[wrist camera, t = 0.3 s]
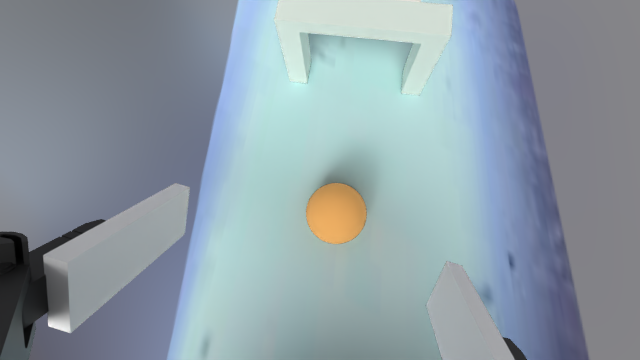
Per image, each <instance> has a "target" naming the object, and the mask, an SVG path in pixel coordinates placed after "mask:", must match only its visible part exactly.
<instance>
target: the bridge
mask: <svg viewBox="0 0 640 360" xmlns="http://www.w3.org/2000/svg"><path fill="white" fill-rule="evenodd" d="M452 12H453V5H448V4H436V3H424V2H412V1H400V0H278V5H277V9H276V14H275V18H274V21H275V25H276V29H277V33H278V37H279V40H280V44H281V48H282V52H283V56H284V60H285V64H286V68H287V72H288V76H289V80H290V82H299V83H307V82H308V77H309V71H310V65H311V53H310V44H309V36H308V33H313V34H323V35H334V36H345V37H355V38H366V39H377V40H387V41H398V42H409V43H413V45H412V48H411V50H410V53H409V56H408V58H407V61H406V64H405V66H404V69H403V78H402V89H401V94H411V95H420V93H421V92H422V90H423V88H424V86H425V84H426V82H427V80H428V78H429V77H430V75H431V73H432V71H433V69H434V67H435V65H436V63H437V62H438V60H439V58H440V56H441V54H442V52H443V50H444V48H445V47H446V45H447V43H448V41H449V39H450V37H451V31H452Z"/></svg>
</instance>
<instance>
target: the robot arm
mask: <svg viewBox="0 0 640 360" xmlns="http://www.w3.org/2000/svg"><path fill="white" fill-rule="evenodd" d="M189 191H190V187H187V186H184V185H180V184H177V183H175V184H173V185H171V186H169V187H167V188H166V189H164V190H162V191H160V192H159V193H156V194H155V195H153V196H151V197H149V198H147V199H145V200H144V201H142V202H140V203H138V204H136V205H134V206H133V207H131V208H129V209H127V210H125V211H123V212H122V213H120V214H118V215H116V216H114V217H112V218H111V219H109V220H107V221H105V220H102V219H100V220H96V221H93V222H89V223H85V224H83V225H81V226H79V227H78V228H76V229H74V230H73V231H72V232H71V231H70V232H68V233H66V234H64V235H62V237H58V238H56V239H54V240H52V241H50V242H49V243H46V244H44V245H42V246H40V247H38V248H37V249H35V250H33V251H31V252H29V250H28V240H27V237H26V236H25V235H23V234H21V233H16V232H0V360H28V359H29V356H30V352H31V347H32V343H33V339H34V335H35V330H36V325H35V321H36V320H37V319H39V318H40V317H41V316H43V315H44V314H45V313H47V314H48V326H50V327H53V328H56V329H59V330H62V331H66V332H69V333H71V332H72V331H73V330H75V329H76V328H77V327H78V326H79V325H80V324H82V323H83V322H84V321H85V320H86V319H87V318H88V317H90V316H91V315H92V314H93V313H94V312H95V311H97V310H98V309H99V308H100V307H101V306H102V305H103V304H105V303H106V302H107V301H108V300H109V299H110V298H111V297H113V296H114V295H115V294H116V293H117V292H119V290H121V289H122V288H123V287H124V286H125V285H127V284H128V283H129V282H130V281H131V280H132V279H134V278H135V277H136V276H137V275H138V274H139V273H141V272H142V271H143V270H144V269H145V268H146V267H147V266H149V265H150V264H151V263H152V262H153V261H154V260H155V259H157V258H158V257H159V256H160V255H161V254H162V253H164V252H165V251H166V250H167V249H168V248H169V247H171V246H172V245H173V244H174V243H175V242H176V241H178V240H179V239H180V238H181V237H182V236H183V235H184V234H185V227H186V217H187V209H188V200H189ZM426 307H427V310H428V314H429V317H430V320H431V324H432V327H433V330H434V334H435V337H436V341H437V344H438V347H439V351H440V354H441V357H442V360H527V359H526V358H525V356H524V354H523V353H522V351H521V350H520V349H519V348H518V347H517V346H516V345H515V344H514V343H513V342H512V341H511V340H510V339H508V338H504V337H502V336H501V334H500V332H499V330H498V329H497V327H496V325H495V323H494V322H493V320H492V318H491V316H490V314H489V313H488V311H487V309H486V307H485V306H484V304H483V302H482V300H481V298H480V297H479V295H478V293H477V291H476V290H475V288H474V286H473V284H472V282H471V281H470V279H469V277H468V275H467V273H466V272H465V270H464V268H463V266H462V265H458V264H455V263H451V262H448V261H446V263H445V265H444V268H443V270H442V272H441V274H440V276H439V278H438V281H437V283H436V285H435V287H434V289H433V291H432V293H431V296H430V298H429V300H428V302H427V304H426Z"/></svg>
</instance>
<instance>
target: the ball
mask: <svg viewBox="0 0 640 360" xmlns="http://www.w3.org/2000/svg"><path fill="white" fill-rule="evenodd" d="M366 216H367V211H366V205H365V203H364V200H363V198H362V197H361V195H360V194H359V193H358V192H357V191H356V190H355V189H353V188H352V187H350V186H348V185H345V184H341V183H331V184H327V185H324V186H322V187H321V188H319V189H318V190H317V191H315V192H314V194H313V195H312V196H311V198H310V199H309V202H308V204H307V208H306V217H307V222H308V225H309V227H310V229H311V231H312V232H313V233H314V234H315V235H316V236H317V237H318V238H319V239H321V240H323V241H325V242H328V243H332V244H341V243H345V242H348V241H350V240H352V239H354V238H355V237H356V236H357V235H358V234H359V233H360V232H361V230H362V229H363V227H364V225H365V222H366Z"/></svg>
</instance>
